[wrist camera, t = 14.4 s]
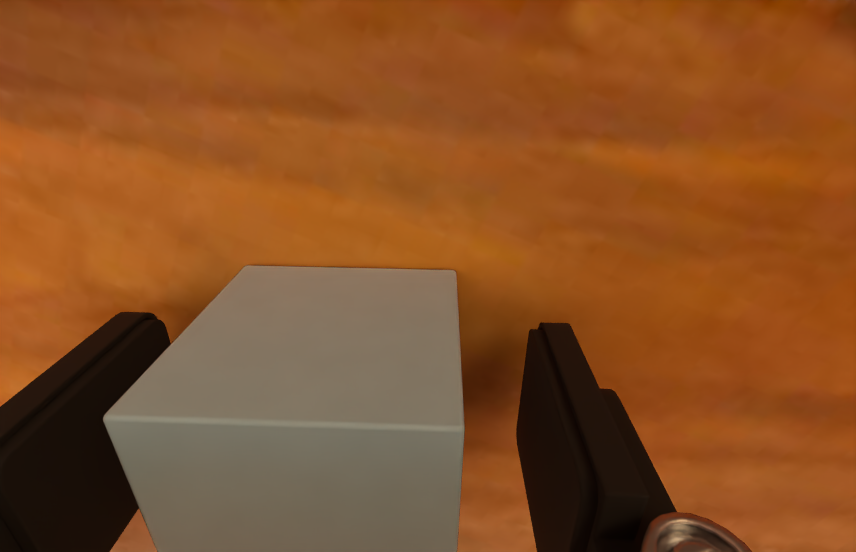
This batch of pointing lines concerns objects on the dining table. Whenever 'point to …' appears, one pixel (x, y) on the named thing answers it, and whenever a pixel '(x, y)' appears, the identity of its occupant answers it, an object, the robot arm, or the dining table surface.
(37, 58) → the dining table surface
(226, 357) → the block
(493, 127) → the dining table surface
